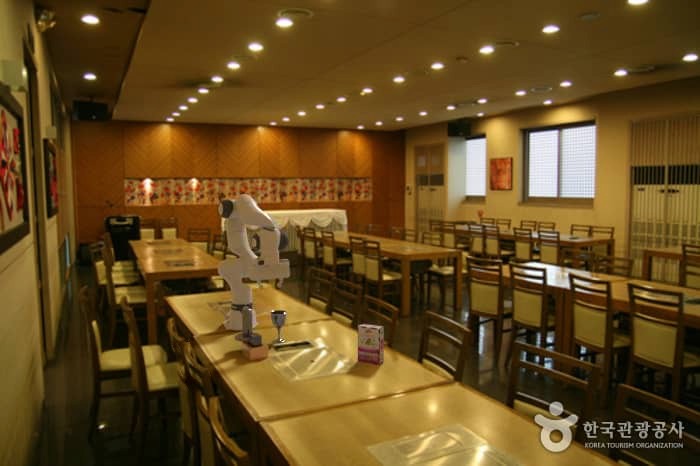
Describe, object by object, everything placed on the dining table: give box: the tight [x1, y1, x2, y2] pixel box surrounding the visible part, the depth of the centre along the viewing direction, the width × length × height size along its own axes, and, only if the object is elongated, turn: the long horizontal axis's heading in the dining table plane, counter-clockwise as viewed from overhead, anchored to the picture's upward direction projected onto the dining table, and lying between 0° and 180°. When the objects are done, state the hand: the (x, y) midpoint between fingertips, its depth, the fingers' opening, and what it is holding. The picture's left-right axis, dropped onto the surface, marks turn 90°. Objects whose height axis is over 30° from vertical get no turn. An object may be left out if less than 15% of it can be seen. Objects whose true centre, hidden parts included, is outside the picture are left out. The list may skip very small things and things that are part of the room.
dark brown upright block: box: [249, 332, 263, 347], centre depth 249 cm, size 6×4×10 cm, turn 31°
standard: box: [234, 308, 269, 361], centre depth 253 cm, size 21×12×20 cm, turn 31°
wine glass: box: [270, 309, 288, 344], centre depth 272 cm, size 8×8×15 cm
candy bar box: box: [357, 323, 385, 365], centre depth 242 cm, size 11×5×16 cm, turn 62°
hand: (270, 288), depth 262 cm, fingers open, 8 cm apart
